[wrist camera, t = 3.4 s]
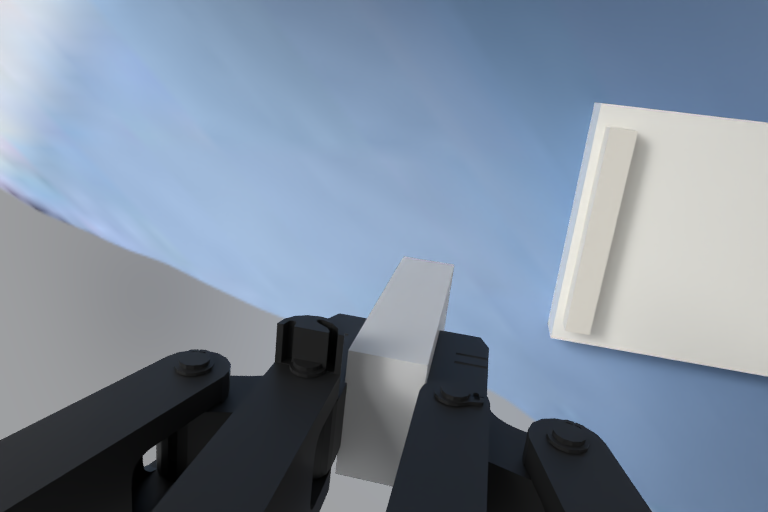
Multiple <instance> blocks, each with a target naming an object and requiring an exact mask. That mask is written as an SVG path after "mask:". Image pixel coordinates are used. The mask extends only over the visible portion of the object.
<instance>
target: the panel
mask: <svg viewBox="0 0 768 512" xmlns="http://www.w3.org/2000/svg"><path fill="white" fill-rule="evenodd" d="M548 327H549V332H550V337H551V338H554V339H560V340H565V341H571V342H576V343H582V344H588V345H593V346H599V347H605V348H610V349H616V350H621V351H627V352H633V353H638V354H644V355H649V356H655V357H661V358H666V359H672V360H677V361H683V362H689V363H694V364H700V365H706V366H711V367H717V368H722V369H728V370H734V371H739V372H745V373H750V374H756V375H762V376H767V377H768V123H766V122H757V121H749V120H740V119H732V118H723V117H715V116H706V115H698V114H689V113H680V112H672V111H663V110H655V109H646V108H638V107H629V106H621V105H612V104H604V103H594V108H593V113H592V118H591V122H590V127H589V132H588V136H587V141H586V146H585V150H584V155H583V160H582V164H581V169H580V174H579V179H578V183H577V188H576V193H575V197H574V202H573V207H572V211H571V216H570V221H569V225H568V230H567V235H566V240H565V244H564V249H563V254H562V258H561V263H560V268H559V272H558V277H557V282H556V286H555V291H554V296H553V301H552V305H551V310H550V315H549V319H548Z"/></svg>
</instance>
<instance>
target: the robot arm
mask: <svg viewBox="0 0 768 512" xmlns="http://www.w3.org/2000/svg"><path fill="white" fill-rule="evenodd" d="M453 270H454V265H453V264H447V263H441V262H435V261H429V260H423V259H417V258H411V257H405V256H404V257H403V258H402V260H401V262H400V263H399V265H398V267H397V268H396V270H395V272H394V274H393V275H392V277H391V279H390V280H389V282H388V284H387V285H386V287H385V289H384V291H383V292H382V294H381V296H380V297H379V299H378V301H377V302H376V304H375V306H374V308H373V309H372V311H371V313H370V314H369V316H368V318H361V317H356V316H350V315H345V314H337V315H335V316H333V317H331V318H328V319H327V318H324V317H319V316H310V315H305V316H293V317H290V318H286V319H283V320H282V321H280V322H279V323H277V338H276V354H275V363H274V364H273V365H272V366H271V367H270V369H269V370H268V371H267V372H266V373H265V375H264V376H230V368H231V366H230V365H231V364H230V362H229V361H228V359H227V358H226V357H223V356H222V355H220V354H218V353H214V352H210V351H207V350H200V351H199V350H189V351H185V352H179V353H176V354H173V355H170V356H167V357H165V358H163V359H161V360H159V361H157V362H155V363H153V364H151V365H149V366H147V367H145V368H143V369H141V370H139V371H137V372H135V373H133V374H131V375H129V376H127V377H125V378H123V379H121V380H120V381H117V382H115V383H114V384H111V385H110V386H107V387H105V388H103V389H101V390H99V391H98V392H96V393H94V394H91V395H89V396H88V397H86V398H84V399H82V400H79V401H77V402H75V403H73V404H71V405H70V406H68V407H66V408H64V409H62V410H60V411H58V412H56V413H54V414H52V415H50V416H48V417H46V418H44V419H42V420H40V421H38V422H36V423H34V424H32V425H30V426H28V427H26V428H24V429H22V430H20V431H18V432H16V433H14V434H12V435H10V436H8V437H6V438H4V439H2V440H0V512H319V511H320V509H321V507H322V504H323V502H324V500H325V497H326V495H327V493H328V490H329V483H330V474H331V466H332V464H333V462H334V460H335V458H336V455H337V463H336V474H340V475H344V476H349V477H353V478H358V479H362V480H367V481H371V482H375V483H380V484H384V485H389V486H393V488H392V492H391V496H390V499H389V503H388V507H387V510H386V512H652V511H651V510H650V508H649V507H648V505H647V504H646V502H645V501H644V499H643V498H642V497H641V495H640V494H639V492H638V491H637V489H636V488H635V486H634V485H633V483H632V482H631V480H630V479H629V477H628V476H627V474H626V473H625V472H624V470H623V469H622V467H621V466H620V464H619V463H618V461H617V460H616V458H615V457H614V455H613V454H612V452H611V451H610V449H609V448H608V447H607V445H606V444H605V442H604V441H603V440H602V439H601V438H600V437H599V436H598V435H597V434H595V433H594V432H592V431H590V430H589V429H587V428H585V427H584V426H583V425H580V424H578V423H574V422H572V421H569V420H560V419H555V418H554V419H541V420H538V421H536V422H533V423H532V424H531V426H530V428H529V429H528V432H524V431H522V430H519V429H517V428H515V427H512V426H510V425H508V424H506V423H505V422H503V421H502V420H500V419H498V418H497V417H496V416H495V415H494V414H493V413H492V412H491V410H490V402H489V400H488V397H487V379H488V355H489V348H488V347H487V345H486V344H485V343H484V342H483V340H482V339H481V338H480V337H474V336H469V335H463V334H458V333H452V332H447V331H444V327H445V321H446V314H447V308H448V302H449V295H450V289H451V282H452V276H453ZM155 445H156V450H157V451H156V460H155V461H154V462H152V463H151V464H149V465H147V466H145V467H144V466H143V455H144V454H145V453H146V452H147V451H148V450H149V449H150V448H152V447H153V446H155ZM337 453H338V454H337Z"/></svg>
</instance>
